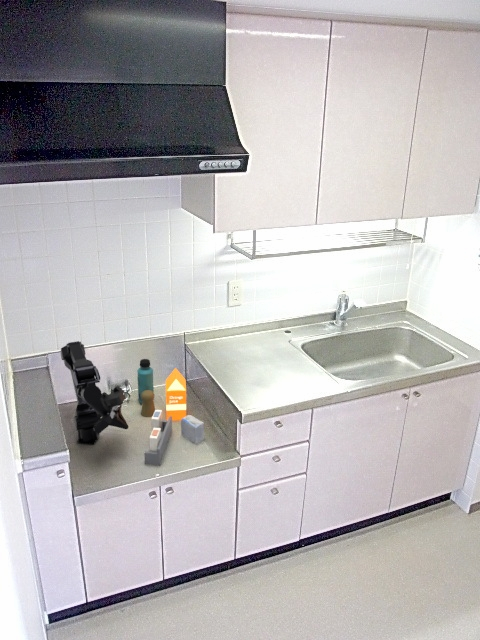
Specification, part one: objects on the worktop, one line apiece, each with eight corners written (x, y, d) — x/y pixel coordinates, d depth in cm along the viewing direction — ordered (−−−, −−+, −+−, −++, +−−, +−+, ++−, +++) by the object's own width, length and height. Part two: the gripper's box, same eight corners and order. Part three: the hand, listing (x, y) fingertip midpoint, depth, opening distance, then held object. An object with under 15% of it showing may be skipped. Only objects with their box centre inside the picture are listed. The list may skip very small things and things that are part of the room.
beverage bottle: (149, 397, 230) (147, 355, 222) (157, 404, 226) (156, 361, 217) (135, 402, 226) (133, 359, 218) (143, 409, 222) (141, 366, 214)
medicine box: (204, 442, 204) (204, 422, 200) (195, 447, 201) (195, 427, 197) (189, 433, 209) (189, 413, 205) (180, 438, 205) (180, 418, 202)
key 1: (150, 461, 190) (149, 437, 186) (154, 450, 196) (153, 427, 192) (157, 462, 190) (156, 438, 186) (161, 451, 196) (160, 427, 192)
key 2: (152, 441, 201) (151, 418, 196) (156, 432, 206) (155, 409, 202) (159, 442, 200) (158, 419, 196) (162, 432, 206) (162, 409, 202)
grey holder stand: (139, 466, 190) (138, 447, 187) (153, 432, 208) (152, 414, 205) (160, 468, 189) (159, 449, 186) (172, 434, 208) (171, 416, 204)
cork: (149, 409, 222) (148, 386, 217) (159, 415, 218) (158, 391, 214) (137, 416, 217) (136, 392, 213) (147, 422, 214) (146, 397, 210)
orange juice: (166, 423, 214) (165, 378, 205) (166, 410, 222) (165, 367, 213) (186, 422, 215) (186, 378, 206) (185, 410, 223) (185, 366, 214)
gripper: (100, 400, 175) (135, 432, 179) (117, 371, 192) (149, 400, 196) (78, 418, 179) (113, 449, 183) (97, 388, 196) (129, 417, 200)
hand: (127, 428), depth 190 cm, fingers closed
